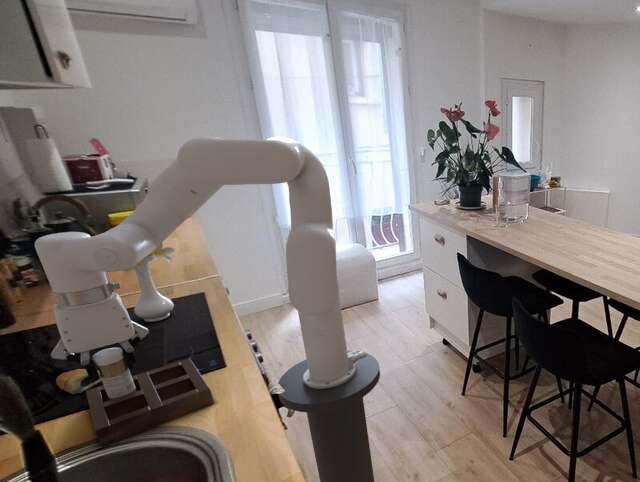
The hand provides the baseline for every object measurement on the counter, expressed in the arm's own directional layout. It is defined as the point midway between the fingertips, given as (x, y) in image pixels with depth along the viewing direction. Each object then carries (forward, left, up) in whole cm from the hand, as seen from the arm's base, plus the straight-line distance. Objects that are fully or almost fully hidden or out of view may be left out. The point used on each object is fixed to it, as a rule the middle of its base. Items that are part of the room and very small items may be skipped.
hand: (114, 371), depth 88 cm
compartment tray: (-4, +4, -9) cm, 10 cm away
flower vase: (-12, -48, -9) cm, 50 cm away
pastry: (+6, -17, -9) cm, 20 cm away
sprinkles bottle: (0, 0, -9) cm, 9 cm away
